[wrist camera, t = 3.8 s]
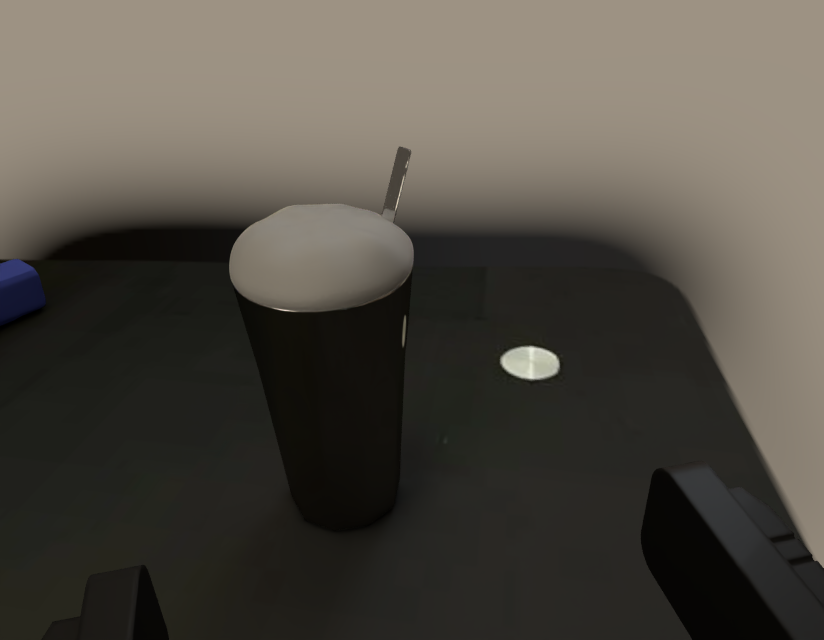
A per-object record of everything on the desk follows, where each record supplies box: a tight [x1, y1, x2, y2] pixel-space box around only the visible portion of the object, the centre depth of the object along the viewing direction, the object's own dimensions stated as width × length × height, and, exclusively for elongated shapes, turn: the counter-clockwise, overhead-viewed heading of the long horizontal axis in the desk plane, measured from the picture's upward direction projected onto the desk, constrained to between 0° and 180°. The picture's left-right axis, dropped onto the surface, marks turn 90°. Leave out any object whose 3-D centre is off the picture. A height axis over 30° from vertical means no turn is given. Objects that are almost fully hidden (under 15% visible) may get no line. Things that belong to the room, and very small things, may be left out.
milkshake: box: [229, 147, 414, 531], centre depth 20 cm, size 5×5×10 cm
